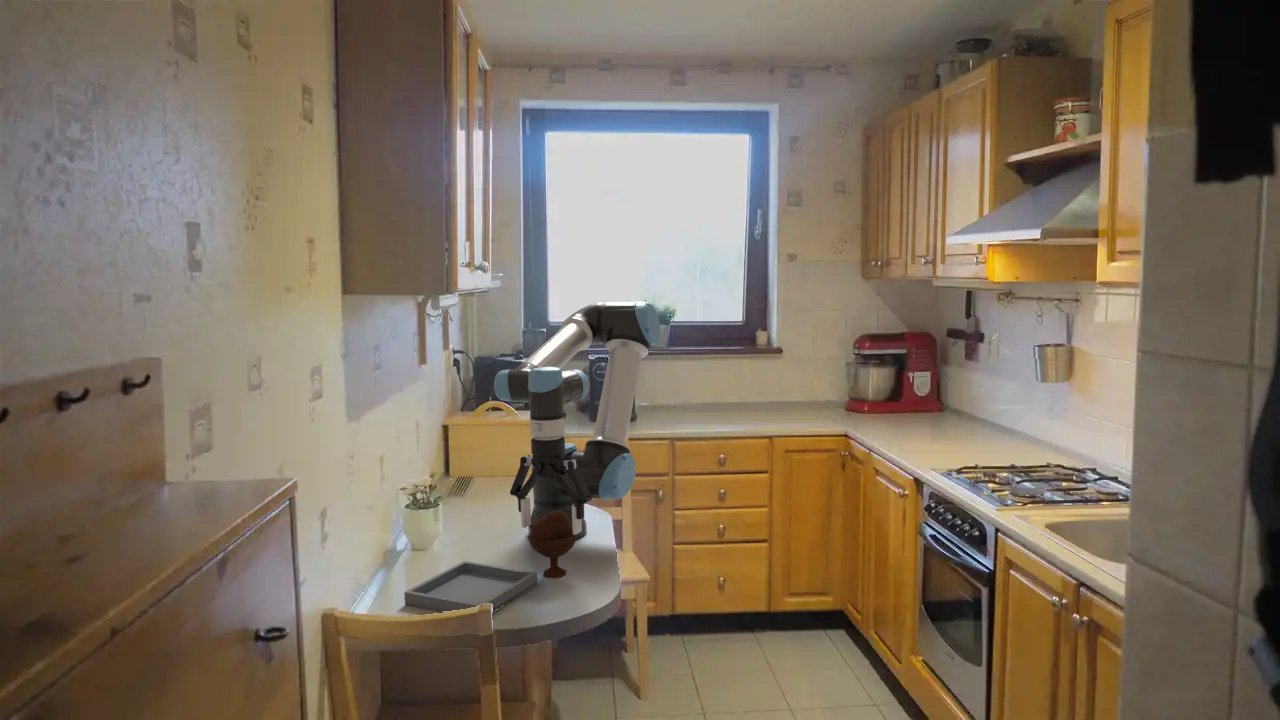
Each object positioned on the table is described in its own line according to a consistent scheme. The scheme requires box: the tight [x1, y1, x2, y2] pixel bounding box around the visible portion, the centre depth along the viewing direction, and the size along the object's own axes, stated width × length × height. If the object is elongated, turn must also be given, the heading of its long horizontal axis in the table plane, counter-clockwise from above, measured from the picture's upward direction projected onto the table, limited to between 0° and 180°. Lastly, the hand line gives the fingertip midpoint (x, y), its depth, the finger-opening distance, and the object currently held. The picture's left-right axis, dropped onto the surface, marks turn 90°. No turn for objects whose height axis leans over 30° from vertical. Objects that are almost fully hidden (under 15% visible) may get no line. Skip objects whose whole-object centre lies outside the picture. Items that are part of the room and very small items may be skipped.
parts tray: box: [404, 560, 538, 613], centre depth 188 cm, size 20×20×3 cm
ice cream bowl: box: [528, 510, 576, 579], centre depth 198 cm, size 11×11×15 cm
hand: (551, 529), depth 197 cm, fingers open, 13 cm apart
